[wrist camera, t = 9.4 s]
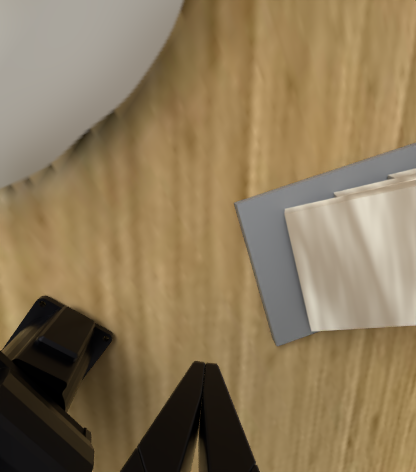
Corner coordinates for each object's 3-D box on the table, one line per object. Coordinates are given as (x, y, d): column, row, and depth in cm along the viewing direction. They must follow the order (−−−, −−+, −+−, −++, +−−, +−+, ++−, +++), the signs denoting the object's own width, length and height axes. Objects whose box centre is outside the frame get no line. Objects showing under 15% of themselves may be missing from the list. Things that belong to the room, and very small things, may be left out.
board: (272, 339, 24) (276, 346, 23) (233, 202, 21) (236, 204, 20) (435, 282, 25) (445, 286, 24) (422, 140, 21) (434, 138, 20)
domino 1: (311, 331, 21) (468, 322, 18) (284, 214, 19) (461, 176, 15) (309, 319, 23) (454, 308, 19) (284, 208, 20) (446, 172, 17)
